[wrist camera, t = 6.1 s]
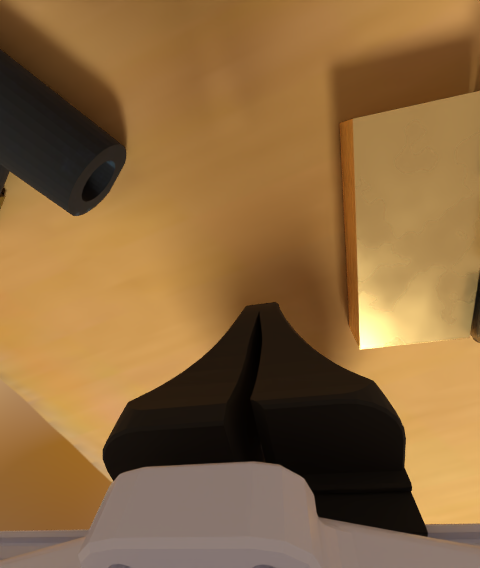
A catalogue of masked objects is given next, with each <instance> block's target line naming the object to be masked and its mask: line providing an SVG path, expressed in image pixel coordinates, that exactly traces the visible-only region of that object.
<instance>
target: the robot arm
mask: <svg viewBox="0 0 480 568" xmlns="http://www.w3.org/2000/svg"><path fill="white" fill-rule="evenodd" d="M405 444H406V437H405V431H404V427H403V425H402V423H401V420H400V418H399V417H398V415H397V413H396V411H395V410H394V408H393V407H392V405H391V404H390V402H389V401H388V399H387V398H386V396H385V395H384V394H383V392H382V391H381V390H380V388H379V387H378V386H377V385H376V383H375V382H374V381H373V380H370V379H368V378H365V377H363V376H360V375H358V374H356V373H353V372H351V371H349V370H346V369H345V368H343V367H341V366H339V365H337V364H335V363H333V362H332V361H330V360H329V359H327V358H326V357H324V356H322V355H321V354H320V353H318V352H317V351H316V350H314V349H313V348H312V347H311V346H310V345H309V344H307V343H306V342H305V341H304V340H303V339H302V338H301V337H300V336H299V335H298V334H297V333H296V331H295V330H294V329H293V328H292V327H291V325H290V324H289V323H288V321H287V320H286V319H285V317H284V316H283V314H282V312H281V310H280V308H279V304H277V303H276V302H273V303H265V304H258V305H250V306H246V307H245V308H244V310H243V311H242V312H241V314H240V315H239V317H238V318H237V320H236V321H235V322H234V324H233V325H232V326H231V327H230V329H229V330H228V331H227V333H226V334H225V335H224V336H223V337H222V338H221V339H220V341H219V342H218V343H217V344H216V345H215V346H214V347H213V348H212V349H211V350H210V351H209V352H207V353H206V354H205V355H204V356H203V357H202V358H201V359H199V360H198V361H197V362H196V363H194V364H193V365H192V366H190V367H189V368H188V369H186V370H185V371H184V372H182V373H181V374H179V375H178V376H176V377H174V378H173V379H171V380H170V381H168V382H166V383H165V384H163V385H161V386H159V387H158V388H156V389H154V390H152V391H150V392H148V393H146V394H144V395H142V396H140V397H138V398H136V399H134V400H132V401H130V402H128V403H127V405H126V407H125V408H124V410H123V412H122V414H121V415H120V417H119V419H118V421H117V423H116V425H115V427H114V428H113V430H112V432H111V434H110V436H109V438H108V440H107V441H106V444H105V446H104V448H103V461H104V463H105V466H106V469H107V471H108V473H109V474H110V476H111V478H112V479H113V483H112V484H111V485H110V486H109V488H108V491H107V493H106V495H105V497H104V500H103V501H102V504H101V506H100V508H99V510H98V512H97V514H96V516H95V519H94V521H93V523H92V525H91V527H90V529H89V530H40V531H38V530H36V531H0V568H480V524H426V525H425V524H424V521H423V519H422V517H421V514H420V512H419V510H418V507H417V505H416V503H415V500H414V498H413V496H412V493H411V491H412V485H411V482H410V479H409V477H408V475H407V473H406V470H405V468H404V463H405Z"/></svg>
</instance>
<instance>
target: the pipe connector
mask: <svg viewBox="0 0 480 568" xmlns="http://www.w3.org/2000/svg"><path fill="white" fill-rule="evenodd" d="M125 160H126V150H125V147H124V146H123V145H121V144H120V143H119V142H118V141H116V140H115V139H114V138H112V137H111V136H110V135H109V134H107V133H106V132H105V131H104V130H102V129H101V128H100V127H98V126H97V125H96V124H95V123H93V122H92V121H91V120H90V119H88V118H87V117H86V116H84V115H83V114H82V113H81V112H79V111H78V110H77V109H76V108H74V107H73V106H72V105H70V104H69V103H68V102H67V101H65V100H64V99H63V98H62V97H60V96H59V95H58V94H57V93H55V92H54V91H53V90H51V89H50V88H49V87H48V86H46V85H45V84H44V83H43V82H41V81H40V80H39V79H37V78H36V77H35V76H34V75H32V74H31V73H30V72H29V71H27V70H26V69H25V68H23V67H22V66H21V65H20V64H18V63H17V62H16V61H15V60H13V59H12V58H11V57H9V56H8V55H7V54H6V53H4V52H3V51H2V50H1V49H0V209H1V206H2V204H3V201H4V199H5V196H4V195H3V194H1V192H2V189H3V187H4V184H5V182H6V179H7V177H8V174H9V171H10V172H12V173H13V174H14V175H16V176H17V177H19V178H20V179H22V180H23V181H24V182H26V183H27V184H29V185H30V186H31V187H33V188H34V189H36V190H37V191H39V192H40V193H41V194H43V195H44V196H46V197H47V198H49V199H50V200H51V201H53V202H54V203H56V204H57V205H59V206H60V207H61V208H63V209H64V210H66V211H67V212H69V213H70V214H72V215H73V216H79V215H82V214H85V213H87V212H88V211H90V210H91V209H93V208H94V207H95V206H96V205H97V204H99V203H100V202H101V201H102V200H103V198H104V197H105V196H106V195H107V194H108V193H109V191H110V190H111V188H112V186H113V184H114V182H115V180H116V179H117V177H118V175H119V173H120V171H121V169H122V168H123V166H124V164H125Z"/></svg>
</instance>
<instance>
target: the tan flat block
mask: <svg viewBox="0 0 480 568" xmlns="http://www.w3.org/2000/svg"><path fill="white" fill-rule="evenodd" d="M339 124H340V145H341V165H342V186H343V206H344V227H345V247H346V268H347V288H348V309H349V327H350V329H351V331H352V333H353V335H354V337H355V340H356V342H357V344H358V346H359V348H360V349H368V348H377V347H387V346H397V345H406V344H416V343H425V342H435V341H445V340H454V339H464V338H470V331H471V324H472V318H473V311H474V305H475V298H476V292H477V285H478V278H479V272H480V91H477V92H472V93H468V94H463V95H459V96H454V97H449V98H445V99H440V100H436V101H431V102H427V103H422V104H418V105H413V106H408V107H404V108H399V109H395V110H390V111H386V112H381V113H377V114H372V115H367V116H363V117H358V118H354V119H350V120H348V121H345V122H342V123H339Z"/></svg>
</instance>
